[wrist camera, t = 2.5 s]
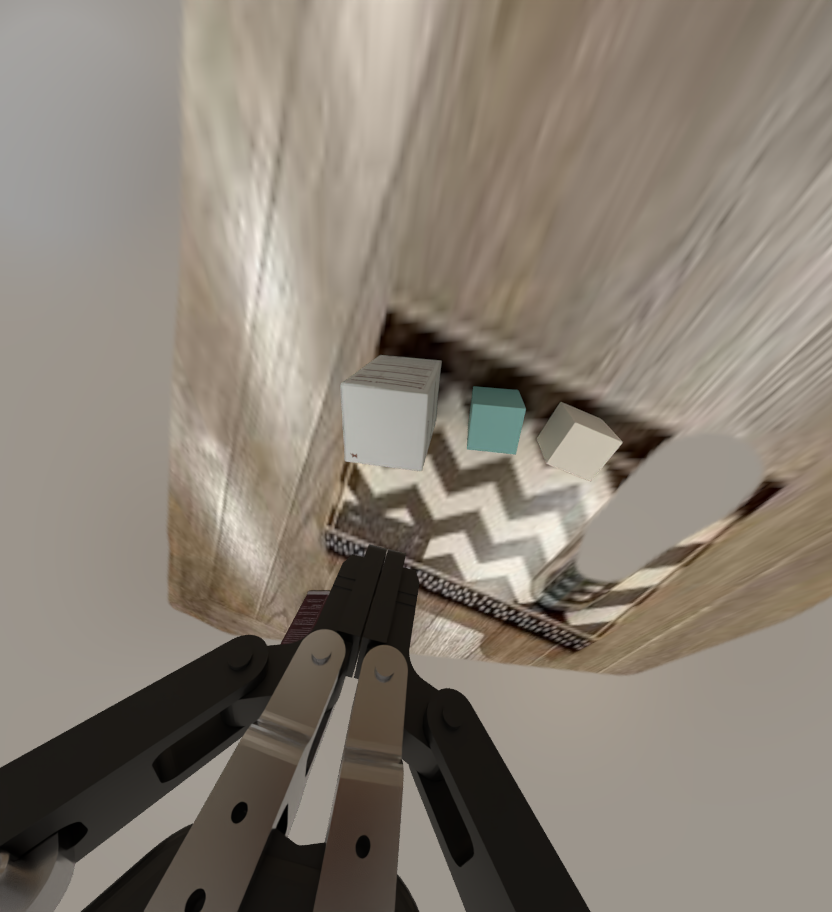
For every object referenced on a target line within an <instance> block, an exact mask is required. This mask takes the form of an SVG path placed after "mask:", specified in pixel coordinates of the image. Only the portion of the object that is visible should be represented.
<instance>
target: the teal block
mask: <svg viewBox="0 0 832 912" xmlns="http://www.w3.org/2000/svg"><path fill="white" fill-rule="evenodd" d="M525 410H526V408H525V405H524V403H523V400H522V398H521V395H520V393H519V391H518V390H511V389H499V388H487V387H475V386H473V392H472V400H471V407H470V415H469V423H468V438H467V449H469V450H478V451H488V452H497V453H506V454H515V455H516V451H517V447H518V442H519V438H520V433H521V429H522V424H523V420H524V415H525Z"/></svg>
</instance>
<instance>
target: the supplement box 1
mask: <svg viewBox="0 0 832 912" xmlns="http://www.w3.org/2000/svg"><path fill="white" fill-rule="evenodd" d="M329 593H330V591H309V592H308V593H307V596H306V597H305V599H304V601H303V603H302V605H301V607H300V609H299V610H298V612H297V614H296V616H295V618H294V620H293V622H292V624H291V625H290V627H289V629H288V631H287V633H286V635H285V637H284V638H283V640H282V642H281V644H289V643H293V642H296V641H299V640H301V639H302V638H304V637H305V636H306V635H308V634H309V633H310V632H311V631H312V629H313V628H314V626H315V624H316V622H317V620H318V618H319V616H320V613H321V611H322V609H323V607H324V604H325V602H326V600H327V598H328V595H329ZM281 644H280V645H281Z"/></svg>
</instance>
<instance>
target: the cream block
mask: <svg viewBox="0 0 832 912" xmlns="http://www.w3.org/2000/svg"><path fill="white" fill-rule="evenodd" d="M537 441H538V444H539V446H540V449H541V451H542V454H543V456H544V459H545V461H546V464H549V465H551V466H553V467H556V468H558V469H561V470H563V471H566V472H568V473H570V474H573V475H575V476H578V477H580V478H583V479H585V480H587V481H590V482H591V480H592V479H593V478H594V477H595V475H596V474H597V473H598V472H599V471H600V469H601V468H602V467H603V466H604V465H605V463H606V462H607V461H608V460H609V459H610V457H611V456H612V455H613V454H614V452H615V451H616V450H617V449H618V448H619V446H620V445H621V444H622V443H623V442H622V441H621V440H620V439H619V438H618V436H617V435H616V434H615V433H614V432H613V431H612V430H611V429H610V428H609V427H608V426H607V425H606V423H605V422H604V421H603V420H602V419H600V418H598V417H596V416H593V415H591V414H589V413H586V412H584V411H581V410H579V409H577V408H574V407H572V406H569V405H567V404H565V403H562V402H560V403H559V405H558V407H557V408H556V410H555V411H554V413H553V414H552V416H551V417H550V419H549V420H548V422H547V423H546V425H545V427H544V428H543V430H542V431H541V433H540V434H539V436H538V437H537Z"/></svg>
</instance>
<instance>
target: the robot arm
mask: <svg viewBox="0 0 832 912" xmlns="http://www.w3.org/2000/svg"><path fill="white" fill-rule="evenodd" d="M386 552H387V549H386V548H382V547H378V546H374V545H370V544H369V546H368V549H367V551H366V554H365V557H360V556H357V555H353V554H352V555H351V556H350V557H349V558H348V559H347V560H346V561H345V562H344V563H343V564H342V566H341V568H340V571H339V573H338V575H337V577H336V580H335V582H334V584H333V587H332V589H331V591H330V593H329V595H328V598H327V600H326V602H325V604H324V607H323V609H322V611H321V613H320V616H319V618H318V620H317V622H316V624H315V626H314V628H313V629H312V631H311V632H310V633H309V634H308V635H306V636H305V637H304V638H302V639H301V640H299V641H296V642H293V643H289V644H281V645H270V646H267V645H266V643H265V641H264V640H263V639H262V638H260V637H258V636H255V635H243V636H239V637H237V638H234V639H232V640H230V641H229V642H227V643H225V644H223V645H221V646H220V647H218V648H216V649H214V650H213V651H211V652H209V653H207V654H205V655H203V656H201V657H200V658H198V659H196V660H194V661H193V662H191V663H189V664H187V665H185V666H183V667H182V668H180V669H178V670H176V671H174V672H173V673H171V674H169V675H167V676H165V677H163V678H162V679H160V680H158V681H156V682H154V683H153V684H151V685H149V686H147V687H146V688H144V689H142V690H140V691H138V692H136V693H135V694H133V695H131V696H129V697H127V698H125V699H124V700H122V701H120V702H118V703H117V704H115V705H113V706H111V707H109V708H108V709H106V710H104V711H102V712H100V713H98V714H97V715H95V716H93V717H91V718H89V719H88V720H86V721H84V722H82V723H80V724H79V725H77V726H75V727H73V728H71V729H70V730H68V731H66V732H64V733H62V734H61V735H59V736H57V737H55V738H53V739H51V740H50V741H48V742H46V743H44V744H42V745H41V746H39V747H37V748H35V749H33V750H32V751H30V752H28V753H26V754H24V755H22V756H21V757H19V758H17V759H15V760H13V761H12V762H10V763H8V764H6V765H5V766H3V767H1V768H0V912H53V911H54V910H55V909H56V907H57V905H58V904H59V903H60V901H61V899H62V897H63V896H64V893H65V892H66V890H67V888H68V885H69V883H70V881H71V878H72V875H73V871H74V866H75V863H76V862H78V861H79V860H80V859H82V858H83V857H84V856H85V855H87V854H88V853H90V852H91V851H92V850H94V849H95V848H96V847H97V846H99V845H100V844H101V843H103V842H104V841H105V840H107V839H108V838H109V837H111V836H112V835H113V834H115V833H116V832H117V831H119V830H120V829H121V828H123V827H124V826H125V825H126V824H128V823H129V822H130V821H132V820H133V819H134V818H136V817H137V816H138V815H140V814H141V813H142V812H144V811H145V810H146V809H147V808H149V807H150V806H151V805H153V804H154V803H155V802H157V801H158V800H159V799H161V798H162V797H163V796H165V795H166V794H167V793H169V792H170V791H171V790H173V789H174V788H175V787H176V786H178V785H179V784H180V783H182V782H183V781H184V780H185V779H187V778H188V777H190V776H191V775H192V774H194V773H195V772H196V771H198V770H199V769H200V768H202V767H203V766H204V765H206V764H207V763H208V762H209V761H211V760H212V759H213V758H215V757H216V756H217V755H219V754H220V753H221V752H223V751H224V750H225V749H227V748H228V747H229V746H231V745H232V744H233V743H234V742H236V741H237V740H238V739H240V738H241V737H242V736H243V737H242V738H241V740H240V742H239V743H238V745H237V747H236V749H235V751H234V752H233V754H232V756H231V758H230V760H229V761H228V763H227V765H226V767H225V768H224V770H223V772H222V774H221V775H220V777H219V779H218V781H217V782H216V784H215V786H214V788H213V790H212V791H211V793H210V795H209V797H208V798H207V800H206V802H205V804H204V806H203V807H202V809H201V811H200V813H199V814H198V816H197V818H196V820H195V821H194V823H193V824H191V825H188V826H186V827H184V828H182V829H181V830H179V831H177V832H175V833H174V834H172V835H171V836H169V837H168V838H166V839H165V840H164V841H162V842H161V843H159V844H158V845H157V846H156V847H154V848H153V849H152V850H151V851H150V852H149V853H147V854H146V855H145V856H144V857H143V858H142V859H140V860H139V861H138V862H137V863H136V864H135V865H134V866H133V867H132V868H130V869H129V870H128V871H127V872H126V873H124V874H123V875H122V876H121V877H120V878H119V879H118V880H116V881H115V882H114V883H113V884H112V885H111V886H110V887H108V888H107V889H106V890H105V891H104V892H103V893H102V894H100V895H99V896H98V897H97V898H96V899H95V900H94V901H92V902H91V903H90V904H89V905H88V906H87V907H86V908H84V909H83V910H82V911H81V912H419V910H418V907H417V905H416V903H415V901H414V899H413V898H412V896H411V893H410V891H409V890H408V888H407V887H406V885H405V884H404V882H403V881H402V879H401V878H400V877H399V876H398V875H397V867H398V852H399V838H400V823H401V808H402V794H403V775H404V773H403V772H404V771H403V762H402V759H403V760H404V761H405V762H407V763H408V764H409V768H410V770H411V773H412V776H413V779H414V781H415V784H416V786H417V788H418V791H419V794H420V796H421V799H422V801H423V804H424V806H425V809H426V811H427V814H428V816H429V819H430V821H431V824H432V827H433V829H434V832H435V834H436V837H437V839H438V842H439V844H440V847H441V849H442V852H443V854H444V857H445V859H446V862H447V864H448V867H449V870H450V872H451V875H452V877H453V880H454V882H455V885H456V887H457V890H458V892H459V895H460V897H461V900H462V902H463V905H464V908H465V910H466V912H590V910H589V908H588V907H587V905H586V903H585V901H584V900H583V898H582V896H581V894H580V893H579V891H578V889H577V887H576V886H575V884H574V882H573V880H572V879H571V877H570V875H569V873H568V872H567V870H566V868H565V866H564V865H563V863H562V861H561V860H560V858H559V856H558V854H557V853H556V851H555V849H554V847H553V846H552V844H551V842H550V840H549V839H548V837H547V835H546V834H545V832H544V830H543V828H542V827H541V825H540V823H539V822H538V820H537V818H536V817H535V815H534V813H533V811H532V809H531V808H530V806H529V804H528V802H527V801H526V799H525V797H524V795H523V794H522V792H521V790H520V789H519V787H518V785H517V783H516V782H515V780H514V778H513V777H512V775H511V773H510V771H509V770H508V768H507V766H506V764H505V763H504V761H503V759H502V757H501V756H500V754H499V752H498V750H497V749H496V747H495V745H494V744H493V742H492V740H491V738H490V737H489V735H488V733H487V731H486V730H485V728H484V726H483V724H482V723H481V721H480V719H479V718H478V716H477V714H476V712H475V711H474V709H473V707H472V705H471V704H470V702H469V701H468V699H467V698H466V697H465V696H464V695H463V694H462V693H460V692H458V691H457V690H454V689H450V688H445V689H441V690H437V689H436V688H434V687H432V686H431V685H430V684H428V683H427V682H426V681H424V680H423V679H422V678H420V677H419V675H418V674H417V673H416V672H415V670H414V668H413V666H412V664H411V661H410V657H409V648H410V641H411V634H412V628H413V621H414V615H415V607H416V602H417V595H418V588H419V580H418V577H417V573H416V571H415V570H411V569H407V568H404V567H403V565H404V561H405V556H406V553H402V552H398V551H394V550H390V549H388V552H387V556H386ZM385 556H386V559H385ZM384 560H385V562H384ZM383 565H384V566H383ZM358 655H359V657H358ZM357 659H358V662H357ZM356 662H357V666H356V671H355V676H354V678H357V679H358V684H357V689H356V693H355V697H354V702H353V706H352V710H351V715H350V720H349V726H348V730H347V735H346V740H345V745H344V750H343V755H342V760H341V765H340V770H339V775H338V780H337V785H336V789H335V795H334V800H333V804H332V809H331V813H330V818H329V823H328V828H327V833H326V838H325V843H318V844H310V845H297V844H295V843H294V842H292V841H291V840H290V839H289V838H288V835H289V832H290V830H291V827H292V824H293V822H294V819H295V816H296V813H297V811H298V808H299V805H300V802H301V799H302V795H303V792H304V789H305V786H306V782H307V780H308V776H309V774H310V771H311V769H312V766H313V763H314V761H315V758H316V755H317V753H318V750H319V747H320V744H321V742H322V739H323V737H324V734H325V732H326V729H327V726H328V724H329V721H330V718H331V716H332V713H333V710H334V708H335V705H336V702H337V700H338V698H339V696H340V693H341V690H342V686H343V683H344V679H345V676H348V677H352V676H353V672H354V669H355V665H356Z"/></svg>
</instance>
